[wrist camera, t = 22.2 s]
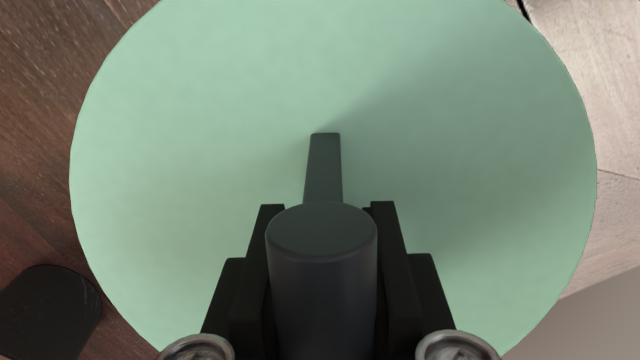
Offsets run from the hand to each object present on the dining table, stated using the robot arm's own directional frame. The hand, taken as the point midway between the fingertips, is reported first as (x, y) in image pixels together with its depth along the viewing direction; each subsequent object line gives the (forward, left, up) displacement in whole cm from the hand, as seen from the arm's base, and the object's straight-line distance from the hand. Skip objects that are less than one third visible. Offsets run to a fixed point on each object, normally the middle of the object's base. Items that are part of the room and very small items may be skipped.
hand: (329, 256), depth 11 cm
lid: (0, 0, -2) cm, 2 cm away
